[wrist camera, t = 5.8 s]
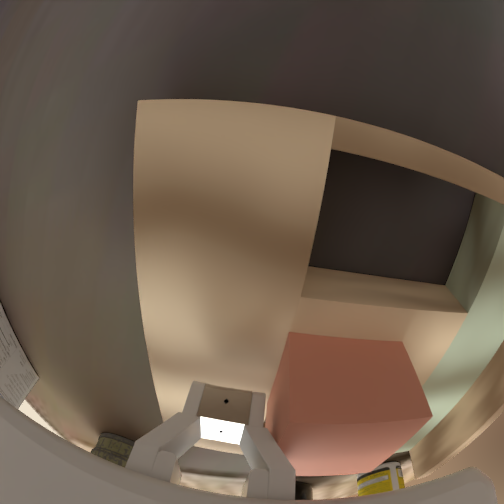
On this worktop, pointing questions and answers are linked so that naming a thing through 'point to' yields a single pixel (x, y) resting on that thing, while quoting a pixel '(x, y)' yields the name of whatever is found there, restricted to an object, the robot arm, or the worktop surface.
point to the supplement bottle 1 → (303, 491)
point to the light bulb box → (13, 366)
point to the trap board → (302, 263)
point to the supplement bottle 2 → (381, 479)
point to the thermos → (113, 448)
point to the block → (343, 403)
